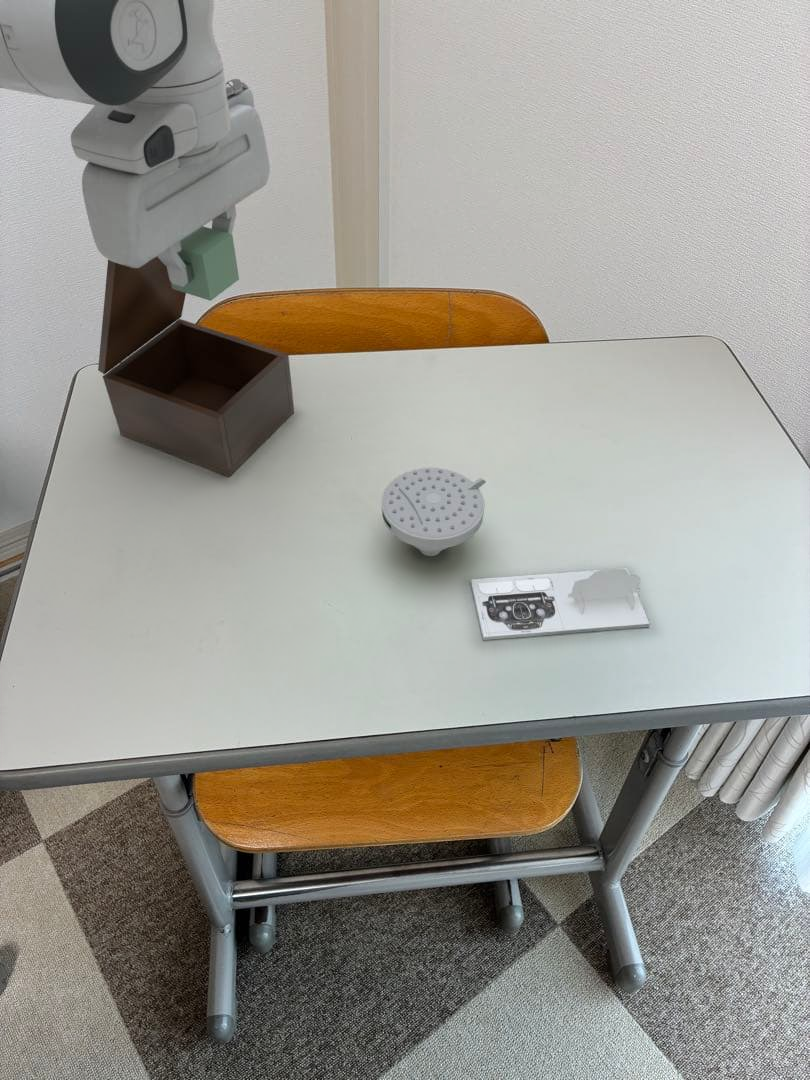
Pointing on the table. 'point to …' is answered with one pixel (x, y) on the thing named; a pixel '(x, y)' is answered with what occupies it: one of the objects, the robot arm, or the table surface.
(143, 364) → the chest
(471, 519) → the showerhead
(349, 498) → the table surface
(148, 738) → the table surface
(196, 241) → the soap block
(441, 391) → the table surface
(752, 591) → the table surface
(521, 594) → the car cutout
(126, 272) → the lid
